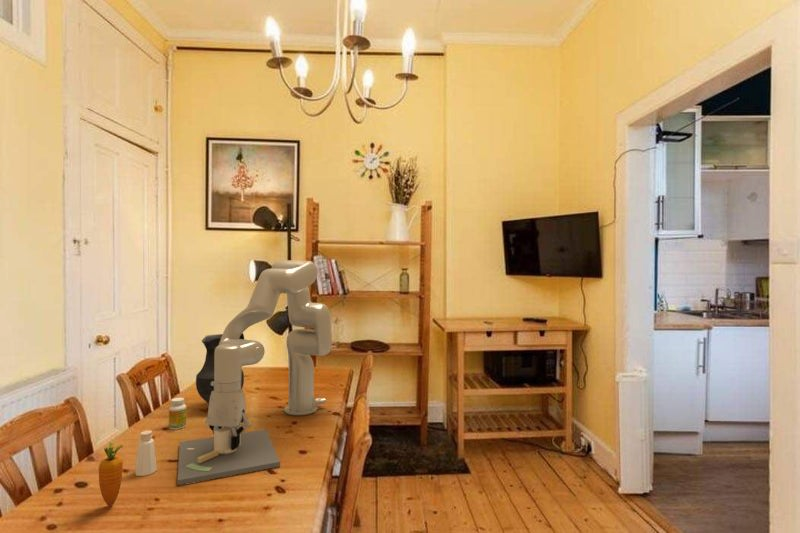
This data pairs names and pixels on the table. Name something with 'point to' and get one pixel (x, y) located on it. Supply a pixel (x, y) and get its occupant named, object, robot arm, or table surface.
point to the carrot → (110, 475)
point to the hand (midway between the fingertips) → (227, 446)
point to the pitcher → (210, 367)
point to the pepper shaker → (146, 455)
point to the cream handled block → (220, 444)
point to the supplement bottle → (177, 414)
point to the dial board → (226, 458)
